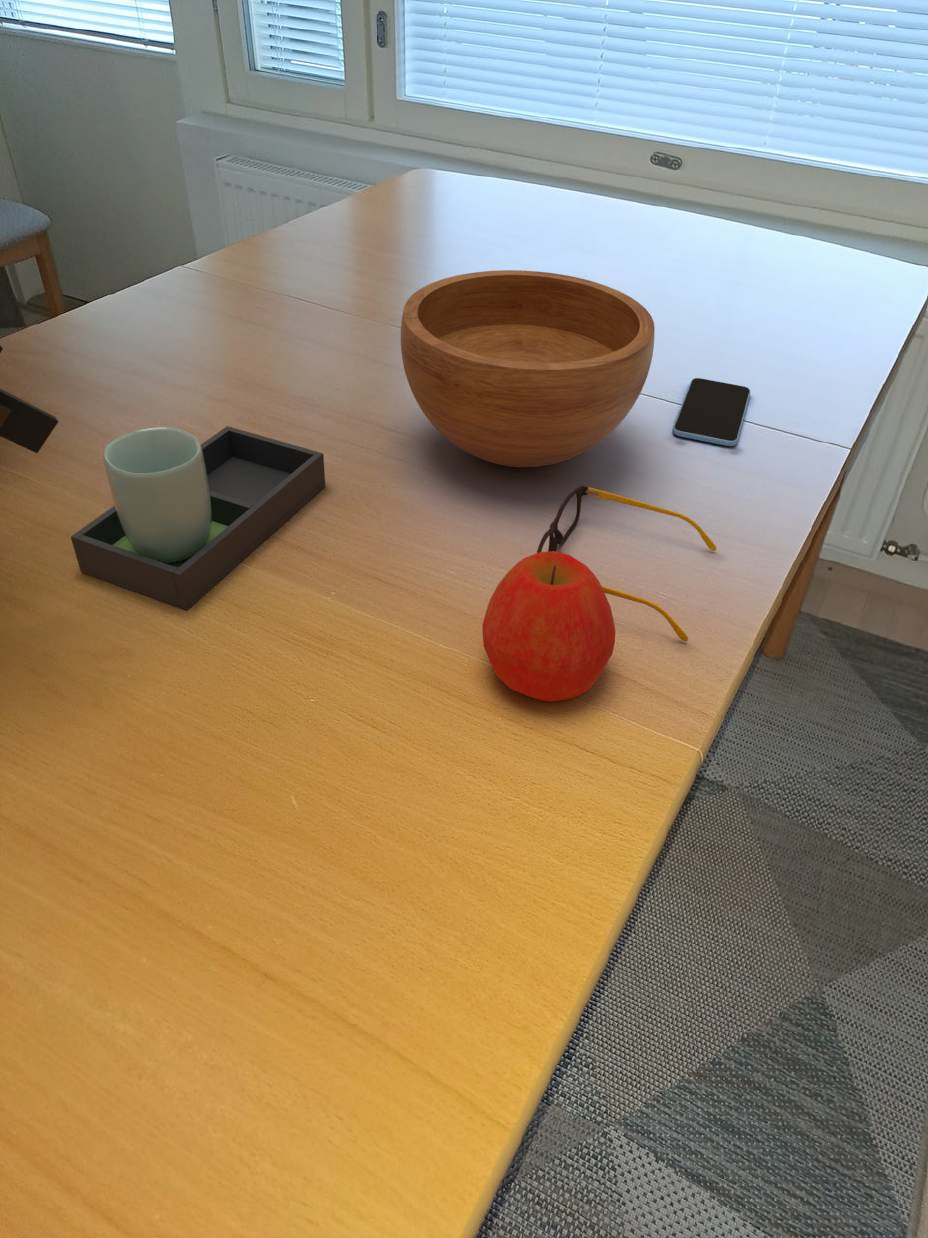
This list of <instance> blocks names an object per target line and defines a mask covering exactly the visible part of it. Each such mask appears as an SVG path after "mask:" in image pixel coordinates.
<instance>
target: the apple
mask: <svg viewBox="0 0 928 1238" xmlns="http://www.w3.org/2000/svg"><path fill="white" fill-rule="evenodd" d="M602 586H603V585H601V581H600V580H599V579H598V577H597V576H596V575H595V574H594V572H593V571H592V570H591V569H590V568H589V566H587V565H586V564H584V563H583V562H581V561H580V560H579V559H577V558H576V557H574V556H573V555H571V554H569V553H568V554H567V553H563V552H558V551H556V552H555V551H551V552H548V551H541V552H539V553H537V552H536V553H534V554H531V555H529V556H526V557H524V558H522V559H521V560H519V561H517V563H516V564H515V565H514V566H512V568H511V569H510V570H509V571H508V572H507V573H506V574H505V575H504V576H503V577H502V578H501V580H500V581H499V583H498V584H497V586H496V588H495V589H494V591H493V593H492V595H491V597H490V599H489V602H488V604H487V607H486V610H485V613H484V618H483V621H482V625H481V626H482V643H483V648H484V651H485V653H486V655H487V658H488V660H489V662H490V665H491V667H492V669H493V671H494V673H495V675H496V677H497V678H498V679H499V680H500V681H501V682H502V683H504V684H505V685H506V686H507V687H508V688H509V689H510V690H513V691H514V692H517V693H519V694H522V695H524V696H527V697H529V698H533V699H535V700H539V701H540V700H541V701H544V702H549V703H551V702H558V701H566V700H567V701H568V700H572V699H575V698H578V696H580V695H582V694H584V693H586V692H588V691H590V690H591V688H592V687H593V686H594V684H595V683H596V682H597V680H598V679H599V678H600V676H601V674H602V673H603V670H605V667H606V665H607V664H608V662H609V660H610V659H611V658H612V656H613V653H614V648H615V645H616V625H615V620H614V617H613V611H612V607H611V605H610V602H609V599H608V598H607V595H606V593H604V591H603V589H602Z"/></svg>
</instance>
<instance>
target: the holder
mask: <svg viewBox="0 0 928 1238" xmlns="http://www.w3.org/2000/svg"><path fill="white" fill-rule="evenodd" d="M200 445H201V447H202V450H203V455H204V460H205V466H206V472H207V478H208V485H209V492H210V501H211V512H212V524H211V531H210V535H209V539H208V541H207V543H206V544H205V546H204V547H203V548H202V549H201V550H199V551H198V552H197V553H196V554H195V555H193V556H191V557H189V558H187V559H185V560H182V561H178V562H173V563H162V562H159V561H157V560H154V559H151V558H148V557H145V556H142V555H140V554H139V553H138V552H137V551H136V550H135V549H134V548H133V546H132V545H131V544H130V542H129V541H128V539H127V537H126V535H125V533H124V531H123V529H122V526H121V523H120V521H119V518H118V515H117V512H116V509H115V505H113V506H112V507H110V508H109V509H108V510H105V512H103V513H102V514H100V515H99V516H97V517H96V518H95V519H93V520H92V521H90V522H89V523H88V524H86V525H85V526H83V527H82V528H81V529H79V530H78V531H76V532H75V533H74V534H72V535H71V536H70V540H71V543H72V547H73V549H74V555H75V557H76V560H77V564H78V567H79V570H80V572H81V573H83V574H84V575H85V574H86V575H88V576H90V577H93V578H97V579H100V580H102V581H104V582H107V583H110V584H113V585H116V586H119V587H122V588H123V589H127V590H129V591H133V592H135V593H137V594H141V595H143V596H146V597H149V598H152V599H155V600H157V601H159V602H162V603H166V604H168V605H170V606H174V607H176V608H179V609H181V610H185V611H188V610H189V609H190V608H192V607H193V605H195V604H196V603H197V602H199V600H200V599H202V598H203V597H204V596H205V595H206V594H207V593H208V592H209V591H210V590H212V589H213V588H214V587H215V586H216V585H217V584H218V583H220V582H221V581H222V580H223V579H224V578H225V577H226V576H228V575H229V574H230V573H231V572H232V571H233V570H234V569H235V568H236V567H237V566H238V565H240V564H241V562H243V561H244V560H245V559H246V558H248V557H249V556H250V555H251V554H252V553H253V552H254V551H255V550H256V549H257V548H258V547H260V546H261V545H262V544H263V543H264V542H265V541H266V540H268V538H270V537H271V536H272V535H273V534H274V533H275V532H277V530H279V529H280V528H281V527H282V526H283V525H284V524H285V523H286V522H287V521H288V520H290V519H291V518H292V517H293V516H294V515H295V514H297V513H298V512H299V511H300V510H301V509H302V508H303V507H304V506H305V505H307V504H308V503H309V502H311V500H312V499H313V498H315V496H317V495H318V494H319V493H321V491H322V490H323V489H324V488H326V487H327V486H326V474H325V473H326V472H325V459H324V453H323V452H320V451H317V450H313V449H309V448H306V447H303V446H299V445H296V444H292V443H288V442H285V441H281V440H277V439H276V438H275V439H274V438H271V437H267V436H264V435H260V434H257V433H253V432H250V431H247V430H244V429H243V430H242V429H239V428H235V427H232V426H229V425H227V426H225V427H224V428H222V429H221V430H220V431H218V432H216V433H215V434H214V435H212V436H211V437H209V438H208V439H207V440H206V441H204V442H202V443H200Z"/></svg>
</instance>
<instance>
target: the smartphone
mask: <svg viewBox="0 0 928 1238" xmlns="http://www.w3.org/2000/svg"><path fill="white" fill-rule="evenodd" d="M750 396H751V389H750V388H749V387H747V386H744V385H739V384H734V383H728V382H723V381H717V380H711V379H708V378H707V379H706V378H701V377H695V378H693V379H691V381H690V383H689V384H688V387H687V389H686V393H685V394H684V398H683V401H682V403H681V405H680V408H679V409H678V411H677V414H676V417H675V419H674V422H673V426H672V434H673V435H675V436H678V437H681V438H686V439H690V440H695V441H701V442H706V443H710V444H715V445H721V446H726V447H733V446H736V445H737V444H738V442H739V438H740V434H741V430H742V426H743V423H744V419H745V416H746V415H745V414H746V411H747V408H748V404H749V399H750Z"/></svg>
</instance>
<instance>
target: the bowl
mask: <svg viewBox="0 0 928 1238" xmlns="http://www.w3.org/2000/svg"><path fill="white" fill-rule="evenodd" d="M403 306H404V307H403V310H402V315H401V324H400V351H401V352H400V353H401V360H402V365H403V371H404V373H405V377H406V380H407V383H408V385H409V389H410V391H411V393H412V395H413V396H414V399H415V402H416V403H417V405H418V407H419V408H420V410H421V411H422V413H423V414H424V416H425V417H426V419H427V420H428V421H429V423H431V425H432V426H433V427H434V428H435V429H436V430H437V431H438V432H439V433H440V434H441V435H442V436H443V437H444V438H446V439H447V440H448V441H449V442H450V443H452V444H453V445H455V446H456V447H457V448H458V449H460V450H462V451H463V452H466V453H467V454H469V455H470V456H473V457H475V458H478V459H479V460H481V461H486V462H489V463H491V464H495V465H500V466H506V467H512V468H514V467H515V468H537V467H544V466H550V465H555V464H558V463H561V462H562V463H563V462H565V461H568V460H570V459H572V458H575V457H577V456H579V455H582V454H584V453H585V452H587V451H589V450H590V449H592V448H593V447H596V446H597V445H598V444H599V443H601V442H602V441H603V440H604V439H606V438H607V437H608V436H609V435H611V434H612V433H613V432H614V431H615V430H616V428H618V427H619V426H620V424H621V423H622V422H623V421H624V420H625V418H626V417H627V416H628V415H629V413H630V412H631V410H632V409H633V408H634V406H635V404H636V402H637V400H638V399H639V397H640V395H641V393H642V391H643V388H644V387H645V384H646V382H647V378H648V376H649V373H650V369H651V365H652V360H653V356H654V348H655V336H656V335H655V333H656V332H655V328H656V327H655V322H654V319H653V317H652V315H651V314H650V312H649V311H648V310H647V308H646V307H645V306H644V305H642V304H641V303H640V302H638V300H635V298H632V297H631V296H629V295H628V294H626V293H624V292H621V291H620V290H618V289H616V288H613V287H610V286H607V285H605V284H602V283H599V282H596V281H593V280H590V279H585V278H581V277H577V276H573V275H566V274H561V273H555V272H554V273H553V272H547V271H536V270H515V269H508V270H507V269H505V270H504V269H503V270H485V271H475V272H469V273H462V274H457V275H453V276H449V277H446V278H442V279H438V280H435V281H433V282H431V283H429V284H427V285H425V286H422V287H421V288H419V289H418V290H416V291H414V293H412V294H411V296H409V297H408V299H407V300H406V302H405V303H404V305H403Z"/></svg>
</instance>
